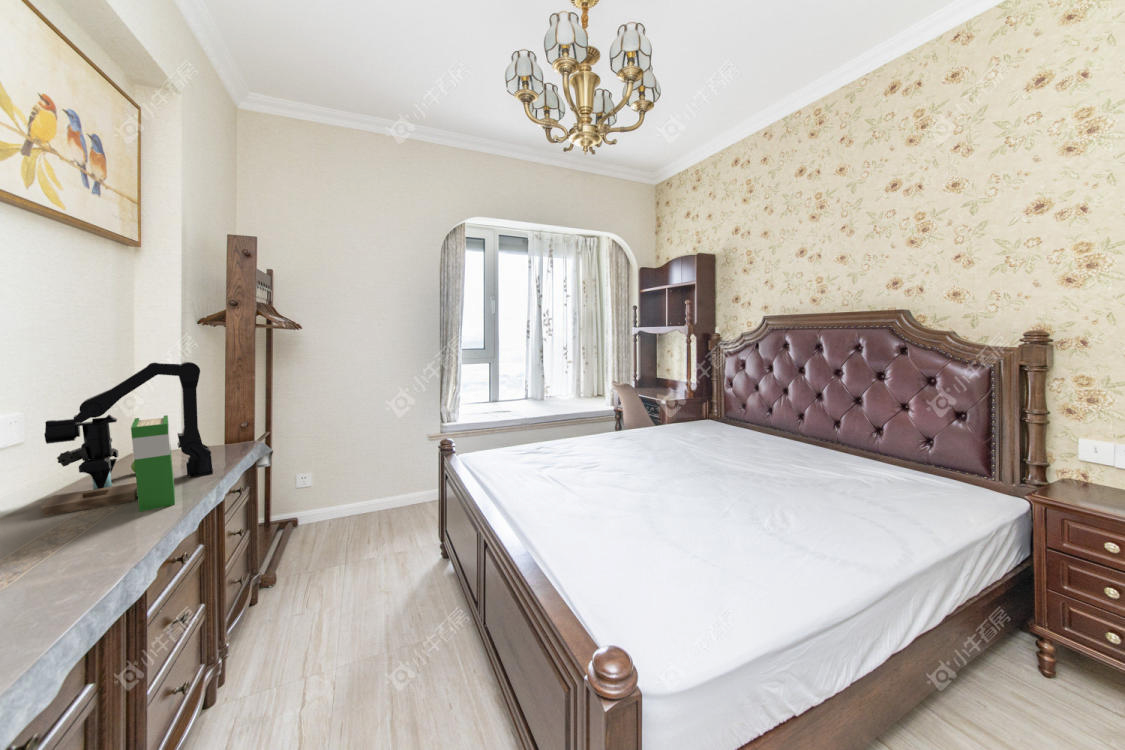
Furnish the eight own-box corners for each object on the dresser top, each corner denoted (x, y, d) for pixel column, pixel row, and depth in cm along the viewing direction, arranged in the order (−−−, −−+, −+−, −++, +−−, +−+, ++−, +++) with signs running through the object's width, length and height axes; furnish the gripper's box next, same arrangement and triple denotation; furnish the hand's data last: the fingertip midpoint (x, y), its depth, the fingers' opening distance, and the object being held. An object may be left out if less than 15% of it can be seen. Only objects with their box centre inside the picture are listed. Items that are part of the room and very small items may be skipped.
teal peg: (113, 487, 140) (111, 469, 140) (111, 491, 137) (108, 472, 136) (95, 490, 138) (93, 472, 137) (92, 494, 135) (90, 475, 134)
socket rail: (139, 489, 138) (139, 482, 138) (135, 500, 129) (134, 492, 129) (54, 504, 127) (53, 495, 126) (43, 516, 118) (42, 507, 118)
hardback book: (142, 494, 134) (134, 418, 132) (174, 488, 139) (167, 415, 137) (139, 511, 121) (130, 427, 119) (174, 504, 126) (167, 423, 124)
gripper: (66, 436, 138) (72, 483, 139) (49, 448, 123) (56, 501, 125) (116, 431, 145) (121, 476, 146) (105, 442, 130) (111, 492, 132)
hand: (102, 486), depth 137 cm, fingers open, 6 cm apart
